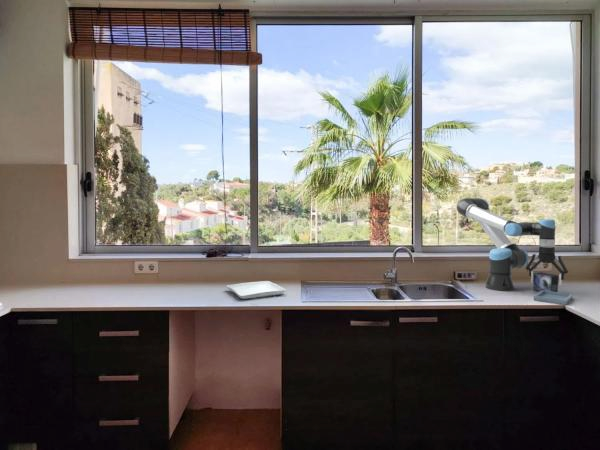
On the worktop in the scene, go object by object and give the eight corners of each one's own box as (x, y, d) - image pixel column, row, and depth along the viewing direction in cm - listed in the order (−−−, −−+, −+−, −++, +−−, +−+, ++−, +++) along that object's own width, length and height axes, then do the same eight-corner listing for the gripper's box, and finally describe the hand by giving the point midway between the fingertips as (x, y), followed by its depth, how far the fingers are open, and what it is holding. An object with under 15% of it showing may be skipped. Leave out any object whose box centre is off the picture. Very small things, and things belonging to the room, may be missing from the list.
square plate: (225, 291, 223) (225, 284, 223) (268, 286, 236) (268, 280, 235) (240, 302, 199) (240, 294, 199) (287, 295, 212) (287, 289, 211)
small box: (532, 290, 220) (533, 272, 219) (539, 289, 222) (540, 271, 222) (550, 294, 210) (551, 276, 209) (558, 293, 213) (559, 275, 212)
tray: (533, 300, 198) (533, 295, 198) (542, 294, 211) (542, 290, 211) (566, 305, 189) (566, 300, 188) (572, 298, 201) (572, 294, 201)
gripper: (520, 245, 221) (519, 281, 222) (572, 248, 203) (571, 287, 204) (523, 244, 226) (523, 279, 227) (575, 247, 208) (574, 285, 209)
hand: (546, 283), depth 216 cm, fingers open, 13 cm apart
